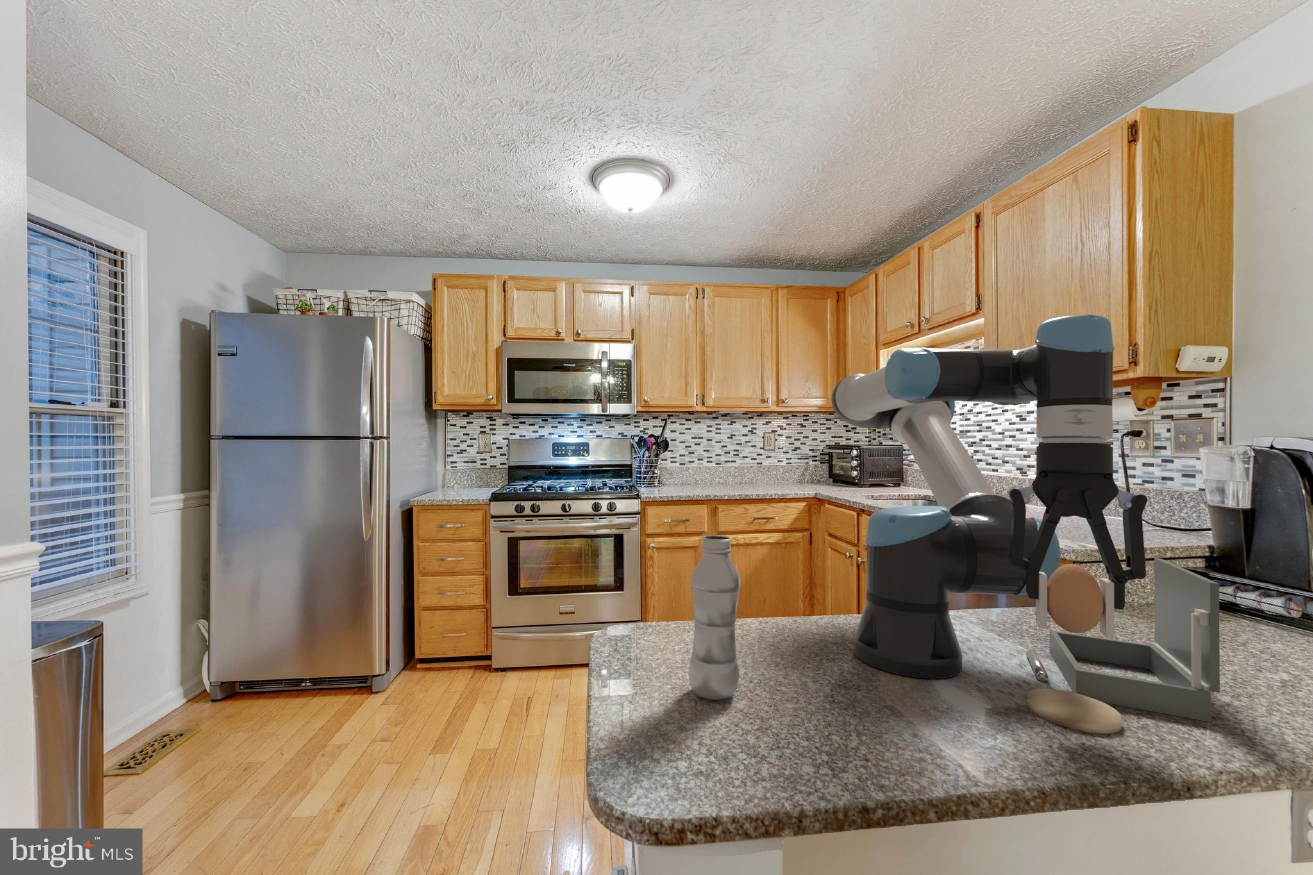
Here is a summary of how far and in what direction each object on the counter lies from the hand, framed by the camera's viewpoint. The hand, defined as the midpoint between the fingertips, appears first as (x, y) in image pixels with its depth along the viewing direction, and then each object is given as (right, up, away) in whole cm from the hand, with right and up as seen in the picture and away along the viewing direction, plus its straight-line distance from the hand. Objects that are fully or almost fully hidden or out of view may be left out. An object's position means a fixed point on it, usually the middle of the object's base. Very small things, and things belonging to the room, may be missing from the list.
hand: (1073, 629), depth 66 cm
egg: (0, -1, 0) cm, 1 cm away
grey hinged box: (+14, -11, +10) cm, 21 cm away
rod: (+6, -11, +15) cm, 19 cm away
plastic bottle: (-44, -9, +3) cm, 45 cm away
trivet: (0, -10, 0) cm, 10 cm away
